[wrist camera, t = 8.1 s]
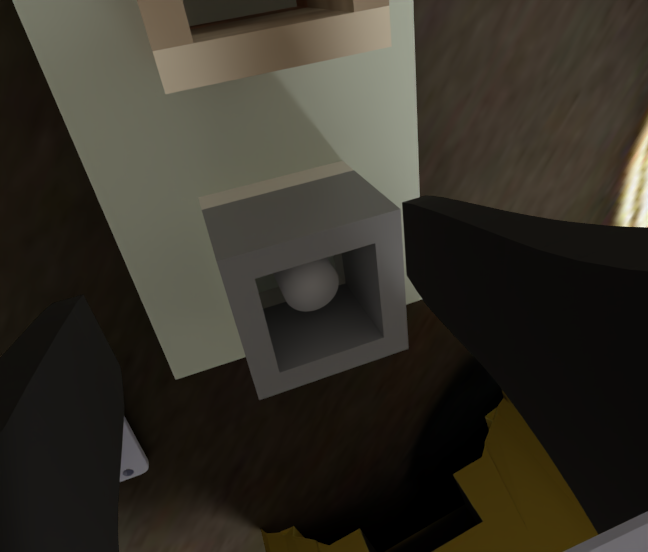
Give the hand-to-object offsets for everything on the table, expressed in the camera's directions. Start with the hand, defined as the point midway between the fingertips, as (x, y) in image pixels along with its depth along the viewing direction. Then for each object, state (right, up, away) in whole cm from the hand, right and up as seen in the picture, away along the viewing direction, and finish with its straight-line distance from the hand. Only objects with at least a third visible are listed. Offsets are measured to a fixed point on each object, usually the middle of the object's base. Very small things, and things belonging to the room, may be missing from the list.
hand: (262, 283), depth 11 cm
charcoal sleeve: (0, +1, +9) cm, 9 cm away
